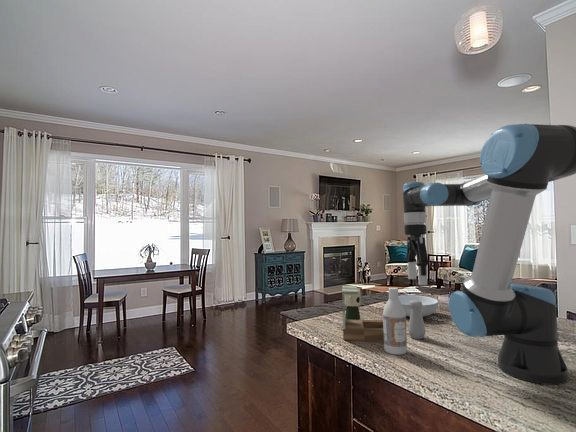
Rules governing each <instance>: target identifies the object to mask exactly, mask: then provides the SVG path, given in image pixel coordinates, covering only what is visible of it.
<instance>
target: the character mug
mask: <svg viewBox="0 0 576 432" xmlns="http://www.w3.org/2000/svg"><path fill="white" fill-rule="evenodd" d="M357 290H358V295H345V319H347V320H361V313H360V309H359V306H361V305H362V304H361V303H362V296H361V293H362V292H361V289H359V288H357Z"/></svg>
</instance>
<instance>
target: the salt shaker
mask: <svg viewBox="0 0 576 432" xmlns="http://www.w3.org/2000/svg"><path fill="white" fill-rule="evenodd" d="M409 306H410V307H411V308H412V309H411V315H410V317H409V321H408V322H409V323H408V329H407V331H408V333H409V336H410V338H411V339H414V340H423V339H424V337H425V335H426V327H425V323H424V322H425V321H424V319H423V318H424V316H423V317H422V313H421V308H422V302H421V301H418V300H411V301H410V302H409Z"/></svg>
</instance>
